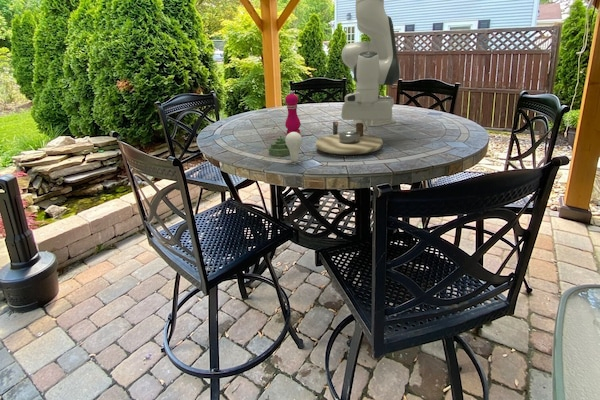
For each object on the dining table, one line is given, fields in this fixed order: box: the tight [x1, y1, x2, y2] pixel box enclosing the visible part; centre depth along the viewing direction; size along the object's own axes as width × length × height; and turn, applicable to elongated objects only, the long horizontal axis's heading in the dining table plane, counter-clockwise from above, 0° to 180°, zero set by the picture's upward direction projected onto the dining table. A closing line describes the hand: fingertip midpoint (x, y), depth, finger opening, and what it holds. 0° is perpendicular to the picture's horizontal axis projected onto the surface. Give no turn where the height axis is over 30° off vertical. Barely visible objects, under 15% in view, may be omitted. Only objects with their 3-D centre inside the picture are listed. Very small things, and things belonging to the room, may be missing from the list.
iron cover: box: [338, 130, 360, 144], centre depth 145 cm, size 8×8×4 cm
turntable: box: [315, 123, 383, 154], centre depth 145 cm, size 26×26×6 cm
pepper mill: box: [284, 90, 301, 136], centre depth 173 cm, size 7×7×20 cm
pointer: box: [332, 121, 339, 135], centre depth 160 cm, size 6×5×8 cm
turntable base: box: [324, 152, 373, 158], centre depth 147 cm, size 20×20×2 cm
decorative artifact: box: [268, 135, 291, 157], centre depth 146 cm, size 10×7×10 cm
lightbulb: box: [285, 132, 303, 163], centre depth 133 cm, size 6×6×11 cm
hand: (366, 130), depth 152 cm, fingers closed
